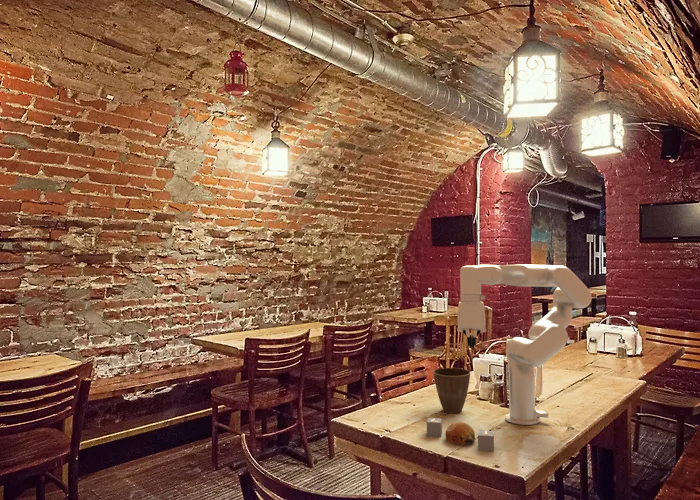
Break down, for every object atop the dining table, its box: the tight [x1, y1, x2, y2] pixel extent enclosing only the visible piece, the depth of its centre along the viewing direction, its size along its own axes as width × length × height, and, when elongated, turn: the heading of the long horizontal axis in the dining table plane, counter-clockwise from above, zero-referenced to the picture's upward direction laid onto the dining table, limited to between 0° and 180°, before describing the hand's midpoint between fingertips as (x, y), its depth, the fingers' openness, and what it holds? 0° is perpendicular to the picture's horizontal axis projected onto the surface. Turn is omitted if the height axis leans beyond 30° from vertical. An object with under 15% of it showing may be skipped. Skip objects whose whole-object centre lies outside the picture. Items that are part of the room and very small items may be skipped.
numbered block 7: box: [426, 417, 443, 438], centre depth 189 cm, size 5×5×5 cm
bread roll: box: [444, 421, 476, 446], centre depth 183 cm, size 10×10×8 cm
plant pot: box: [433, 367, 471, 414], centre depth 217 cm, size 15×15×16 cm
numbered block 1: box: [477, 429, 495, 452], centre depth 175 cm, size 5×5×5 cm
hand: (471, 347), depth 199 cm, fingers closed
